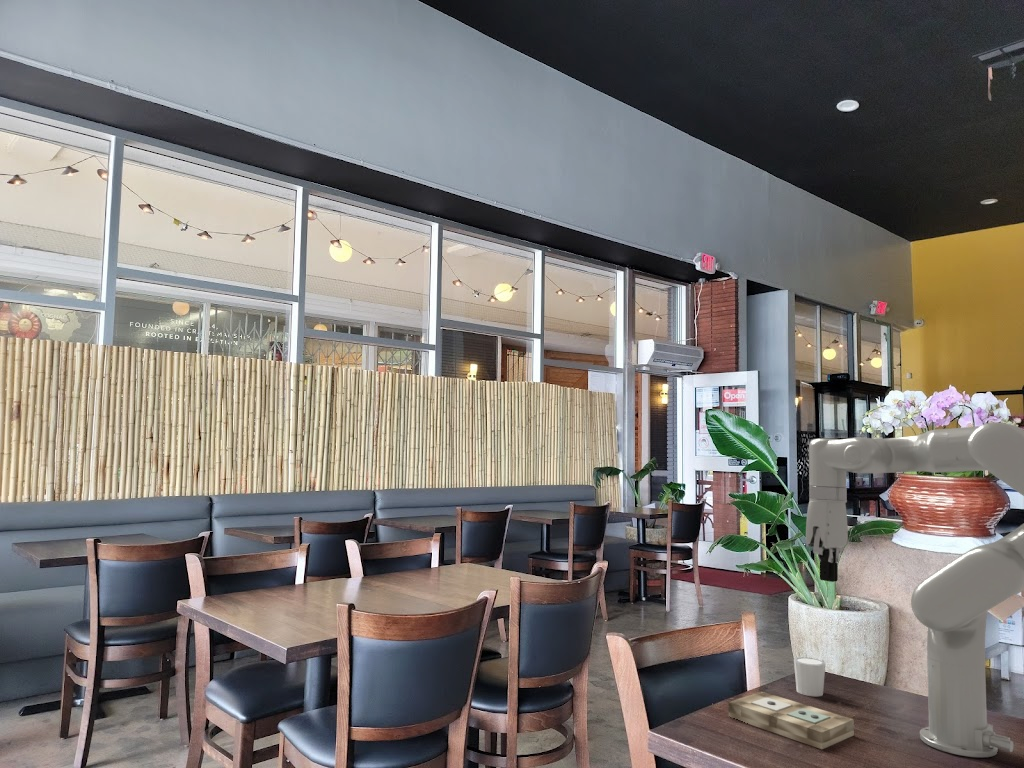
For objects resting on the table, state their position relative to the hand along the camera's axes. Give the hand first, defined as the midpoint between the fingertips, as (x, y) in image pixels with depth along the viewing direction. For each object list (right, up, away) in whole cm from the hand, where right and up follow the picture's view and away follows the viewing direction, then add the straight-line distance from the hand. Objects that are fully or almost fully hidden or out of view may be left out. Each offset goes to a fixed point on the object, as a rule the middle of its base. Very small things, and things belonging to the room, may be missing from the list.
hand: (828, 580), depth 159 cm
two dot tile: (-11, -24, -16) cm, 31 cm away
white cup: (0, -28, +9) cm, 30 cm away
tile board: (-13, -26, -13) cm, 31 cm away
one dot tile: (-16, -25, -9) cm, 31 cm away
